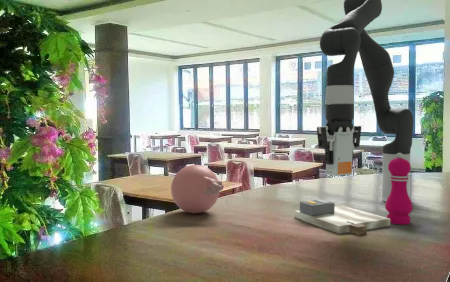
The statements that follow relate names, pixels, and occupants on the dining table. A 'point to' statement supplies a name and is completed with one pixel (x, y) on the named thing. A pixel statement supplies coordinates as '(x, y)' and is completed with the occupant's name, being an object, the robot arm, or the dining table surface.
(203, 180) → the balloon
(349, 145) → the skincare box
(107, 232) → the dining table surface
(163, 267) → the dining table surface
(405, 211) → the pepper mill
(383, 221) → the board
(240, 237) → the dining table surface
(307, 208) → the block
